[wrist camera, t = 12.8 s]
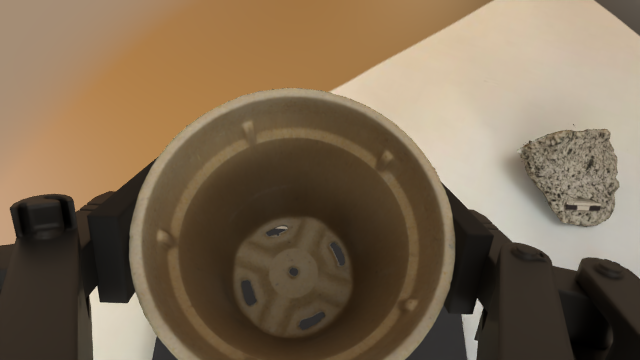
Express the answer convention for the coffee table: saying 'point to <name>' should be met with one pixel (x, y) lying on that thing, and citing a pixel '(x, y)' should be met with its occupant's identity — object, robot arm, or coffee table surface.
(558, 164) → the rock sample
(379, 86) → the coffee table surface
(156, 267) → the flower pot
